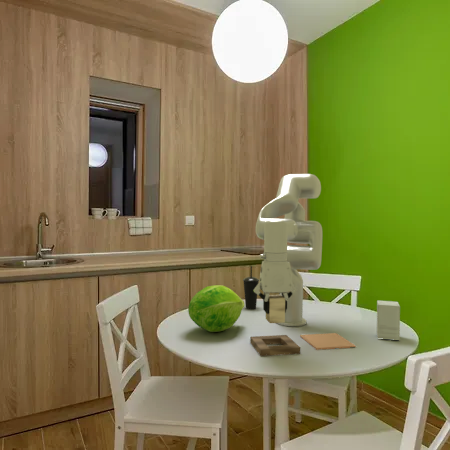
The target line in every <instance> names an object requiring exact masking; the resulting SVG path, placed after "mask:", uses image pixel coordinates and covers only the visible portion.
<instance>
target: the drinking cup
mask: <svg viewBox="0 0 450 450" xmlns="http://www.w3.org/2000/svg"><path fill="white" fill-rule="evenodd" d="M249 275H250V276H247V277H243V279H242V281H243V288H244V289H243V290H244V303H245V309H247V310H255V309H257V303H258V295H257V294H256V293H255V292H254V291H253V290H254V289H255V287H256V286H257V285H258V283H259V282H260V278H257V277H255V276H253V266H252V265H250V274H249Z"/></svg>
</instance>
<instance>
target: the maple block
mask: <svg viewBox="0 0 450 450" xmlns="http://www.w3.org/2000/svg"><path fill="white" fill-rule="evenodd" d="M268 301H269V314H267V313H266V312H265V320H266V321H267V322H269V324H277V323H284V322H285V298H284V297H283V296H281V295H279V294H270V295H269V298H268Z"/></svg>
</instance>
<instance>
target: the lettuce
mask: <svg viewBox="0 0 450 450" xmlns="http://www.w3.org/2000/svg"><path fill="white" fill-rule="evenodd" d="M245 307H246V305H245V300H243V299H242V298H241V297H240V296H239V295H238V294H237V293H236V292H235V291H234V290H233V289H231V288H229V287H227V286H225V285H222V284H221V285H220V284H217V285H215V284H214V285H209V286H206V287H204V288H202V289H201V290H199V291H197V292H196V293H195V295H194V296H192V298H191V300H190V302H189V304H188V310H187V313H188V315H189V318H190V319H191V321H192V322H193V323H194V324H195V325H197V326H198V327H199V328H202V329H203V330H205V331H208V332H210V333H217V332H223V331H226V330H228V329H230V328H232V327H233V326H234V325H235V323H236V322H237V321H238V319H239V318H240V316H241V314H242V310H243V309H244V308H245Z"/></svg>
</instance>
